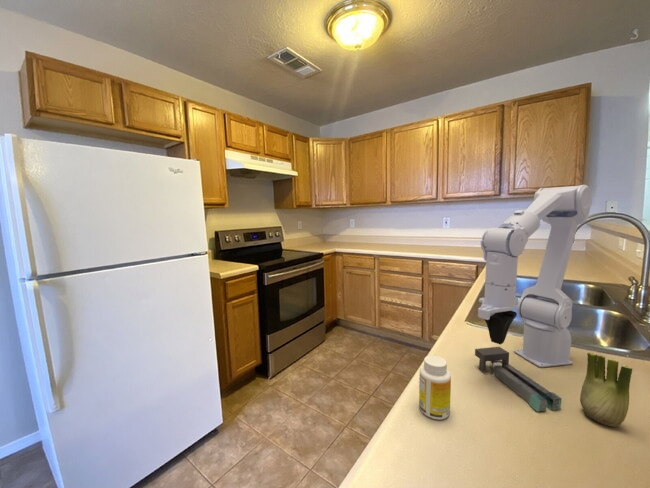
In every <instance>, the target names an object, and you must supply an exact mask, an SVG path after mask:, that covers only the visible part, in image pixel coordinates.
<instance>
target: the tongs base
mask: <svg viewBox="0 0 650 488" xmlns="http://www.w3.org/2000/svg"><path fill="white" fill-rule="evenodd" d="M498 365H500V366H501V367H502V360H496V361H489V371H491V372H492V373H494V366H498ZM504 369H506V370H507V371H508V372H510V373H511V374H512V375H514V376H515V377H516V378H518V379H519V380H520V381H522V382H523V383H525V384H526V385H527V386H529V387H530V388H531V389H533V390H534V391H535V392H537V393H538V394H539V395H541V396H542V397H544V398H545V399H546V400H547V406H546V408H548V409H549V410H551V412H555V411H561V409H562V408H561V407H562V397H560V395H557V394H556V393H555V392H553V391H550V390H548V389H547V388H545V387H544V386H542V385H541V384H539V383H538V382H536V381H535V380H533V379H532V378H530V377H529V376H528V375H526V374H524V373H523V372H521V371H520V370H518V369H517V368H516V367H515V366H512V365H511V364H510V363H509V364H508V365H504Z"/></svg>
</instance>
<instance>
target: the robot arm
mask: <svg viewBox="0 0 650 488" xmlns="http://www.w3.org/2000/svg"><path fill="white" fill-rule="evenodd" d="M592 195H593V194H592V190H591V188H590V187H589V186H588V185H587V184H581V185H572V186H571V185H570V186H569V185H568V186H560V187H559V186H558V187H556V186H555V187H540V188H539V189H537V191H535V192H534V197H533V201H532V203H530V205H529V206H528V207H527V208H526V209H522V210H521V209H516V210H515V211H513V214H512V215H510V216H509V217H508V218H507V219H506V220H505V221H503V222H501V224H500V225H499V226H497V227H491V228H489V229H487V230H486V231H485V232H484V233H483V235H482V239H481V240H480V248H481V250H482V252H483V253H482V254H483V260H484V261H485V277H484V279H485V282H484V297H480V298H479V299H478V302H479V303H481V305H480V307H478V308H477V318H479V319H483V320H484V321H485V324H486V325H487V330H488V335H489V338H490V342H491V343H495V344H497V345H502V344H504V343H505V340H506V338H507V334H508V331H509V328H510V326H511V325H512V323H513V321H514V320H515V318H516V317H517V315H518V317H519V318H521V323H524V324H523V325H524V326H523V338H522V339H523V342H522V348H521V349H514V350H513V352H514V353H515V354H517V355H519V356H520V357H522V358H524V359H526V360H527V361H528V362H530V363H532V364H533V365H535V366H537V367H538V368H548V367H555V366H556V367H557V366H567V365H573V364H574V362H573V361H572V360H570V359H571V358H570V357H571V349H572V336H571V333H570V330H569V329H568V327H569V325H570V324H571V322H572V318H573V317H572V316H573V311H572V309H573V300H572V299H571V298H570V297H569V296H568V295H567V294H566V293H564V292H563V290H562V288H563V287H562V286H563V284H564V283H563V282H564V279H565V276H566V275H565V274H566V271H567V267H568V263H569V259H570V256H571V252H572V249H573V243H574V241H575V237H576V233H577V230H578V227H579V225H581V224H584V223H586V222H587V221H588V220H587V219H588V218H589V215H590V211H591V207H592V203H593V196H592ZM541 221H542V222H545V223H547V224H549V225H550V231H549V235H548V239H547V242H546V247H545V250H544V254H543V258H542V262H541V265H540V269H539V272H538V273H539V274H538V276H537V281H536V284H534V285H532V286H529V287H527V288H524V289H523V291H522V294H521V296H520V298H519V297H518V296H516V294H517V277H518V263H519V262H518V261H519V256H521V255H523V252H524V251H525V248H526V245H527V243H528V241H529V238H530V237H531V236H532V235H533V234H534V233H535V232H536V231H537V230H539V228H540V226H541ZM515 310H516V311H515Z"/></svg>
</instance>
